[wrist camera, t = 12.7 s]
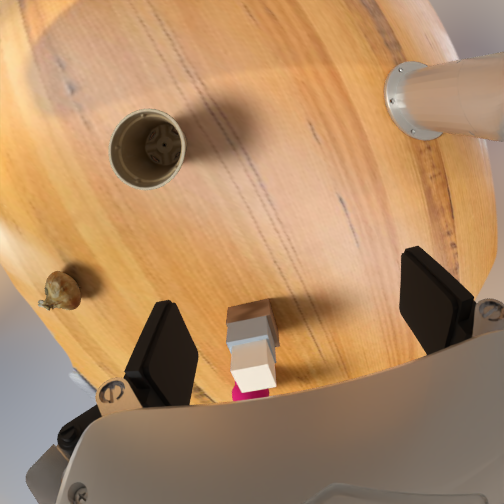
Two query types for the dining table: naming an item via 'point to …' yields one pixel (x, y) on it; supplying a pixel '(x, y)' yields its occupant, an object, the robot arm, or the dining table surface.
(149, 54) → the dining table surface
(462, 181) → the dining table surface
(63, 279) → the onion
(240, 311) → the walnut block
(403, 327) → the dining table surface
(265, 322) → the slate block
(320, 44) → the dining table surface
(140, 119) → the flower pot
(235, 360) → the cream block
